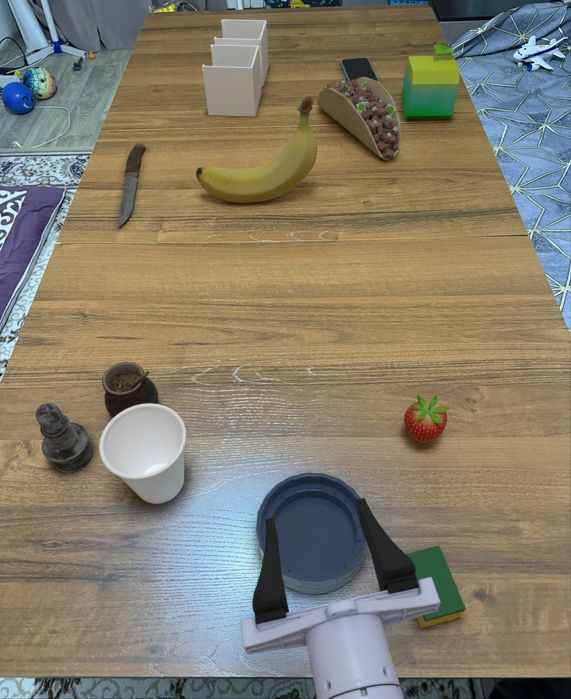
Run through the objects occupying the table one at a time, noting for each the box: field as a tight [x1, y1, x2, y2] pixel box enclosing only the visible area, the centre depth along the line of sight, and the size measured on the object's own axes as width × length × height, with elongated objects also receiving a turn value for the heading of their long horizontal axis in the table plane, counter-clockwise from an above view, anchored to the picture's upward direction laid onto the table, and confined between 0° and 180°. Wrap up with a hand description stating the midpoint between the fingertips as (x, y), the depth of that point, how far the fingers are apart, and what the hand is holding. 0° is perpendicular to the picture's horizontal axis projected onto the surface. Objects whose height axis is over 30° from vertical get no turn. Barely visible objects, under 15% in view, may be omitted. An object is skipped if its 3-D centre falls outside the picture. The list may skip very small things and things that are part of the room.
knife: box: [117, 142, 146, 228], centre depth 115 cm, size 28×3×1 cm, turn 4°
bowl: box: [255, 472, 369, 595], centre depth 68 cm, size 13×13×4 cm
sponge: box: [405, 545, 466, 629], centre depth 64 cm, size 7×4×4 cm, turn 14°
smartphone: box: [340, 56, 380, 82], centre depth 143 cm, size 7×1×15 cm
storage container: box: [201, 18, 270, 117], centre depth 136 cm, size 25×11×11 cm, turn 174°
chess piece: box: [34, 402, 94, 474], centre depth 73 cm, size 6×6×12 cm
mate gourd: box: [101, 360, 159, 419], centre depth 78 cm, size 7×8×10 cm
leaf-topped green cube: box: [401, 41, 460, 121], centre depth 126 cm, size 11×10×15 cm
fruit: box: [403, 394, 450, 444], centre depth 75 cm, size 5×5×8 cm
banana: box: [195, 95, 318, 204], centre depth 105 cm, size 23×6×20 cm, turn 93°
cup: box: [98, 403, 187, 505], centre depth 70 cm, size 10×10×11 cm
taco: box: [316, 77, 402, 161], centre depth 123 cm, size 10×27×10 cm, turn 29°
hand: (315, 513), depth 48 cm, fingers open, 7 cm apart
